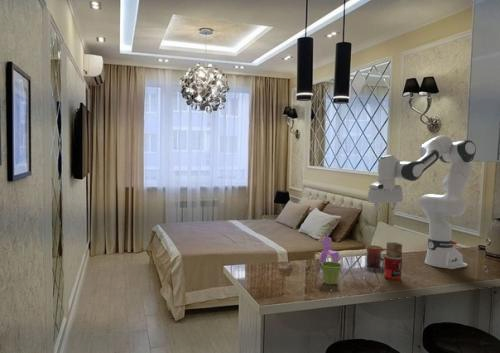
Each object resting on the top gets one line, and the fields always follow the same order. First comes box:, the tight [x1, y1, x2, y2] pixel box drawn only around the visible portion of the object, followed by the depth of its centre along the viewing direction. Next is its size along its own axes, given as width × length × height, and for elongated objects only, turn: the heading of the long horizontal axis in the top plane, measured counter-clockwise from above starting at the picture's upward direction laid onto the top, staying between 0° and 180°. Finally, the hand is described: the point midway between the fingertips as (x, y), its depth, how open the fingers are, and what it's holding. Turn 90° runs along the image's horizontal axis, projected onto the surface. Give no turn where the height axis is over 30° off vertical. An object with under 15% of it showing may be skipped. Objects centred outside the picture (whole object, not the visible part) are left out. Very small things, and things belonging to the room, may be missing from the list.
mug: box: [365, 244, 387, 268], centre depth 211 cm, size 12×9×10 cm
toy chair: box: [318, 236, 340, 265], centre depth 210 cm, size 8×9×15 cm
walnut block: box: [385, 241, 403, 258], centre depth 190 cm, size 5×5×6 cm
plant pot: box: [320, 261, 343, 285], centre depth 180 cm, size 9×9×9 cm
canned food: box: [384, 254, 403, 281], centre depth 190 cm, size 8×8×11 cm
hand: (385, 210), depth 210 cm, fingers open, 8 cm apart
